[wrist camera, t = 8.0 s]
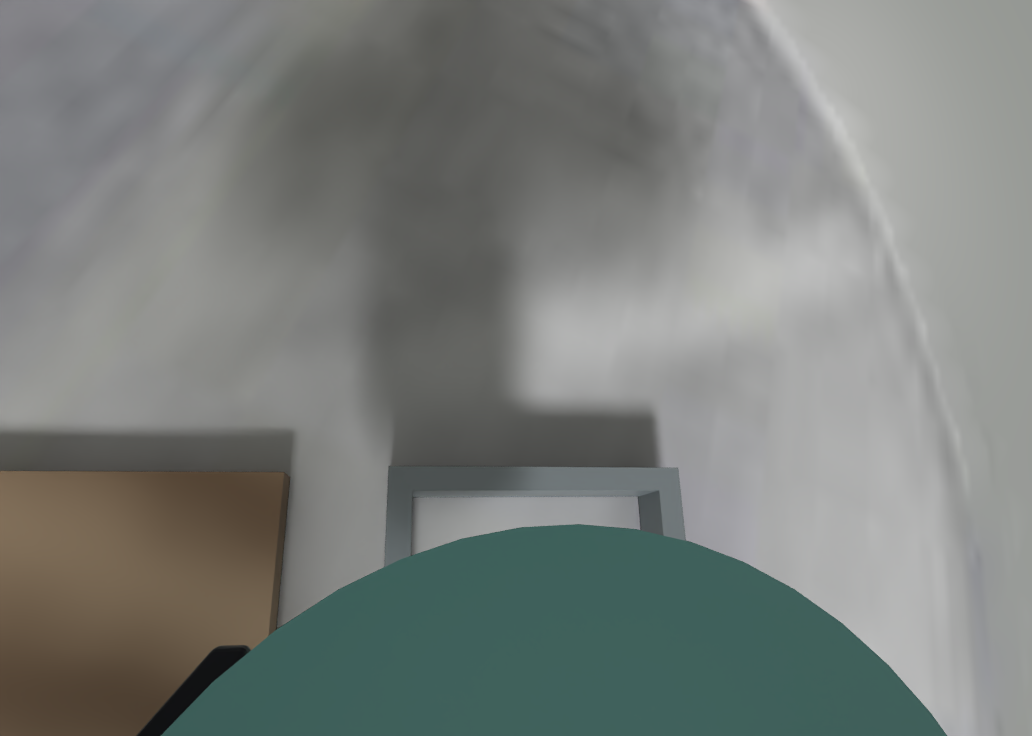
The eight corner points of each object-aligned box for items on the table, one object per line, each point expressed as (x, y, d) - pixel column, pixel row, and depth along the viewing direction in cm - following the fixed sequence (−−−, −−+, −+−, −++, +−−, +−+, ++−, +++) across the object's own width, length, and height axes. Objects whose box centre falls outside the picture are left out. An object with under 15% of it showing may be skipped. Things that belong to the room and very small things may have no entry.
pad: (242, 984, 17) (232, 1014, 16) (-235, 1051, 15) (-287, 1090, 14) (290, 477, 21) (284, 471, 20) (-75, 476, 19) (-105, 470, 18)
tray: (683, 778, 20) (713, 799, 19) (375, 807, 19) (372, 834, 17) (655, 475, 24) (678, 467, 22) (389, 474, 22) (388, 466, 20)
